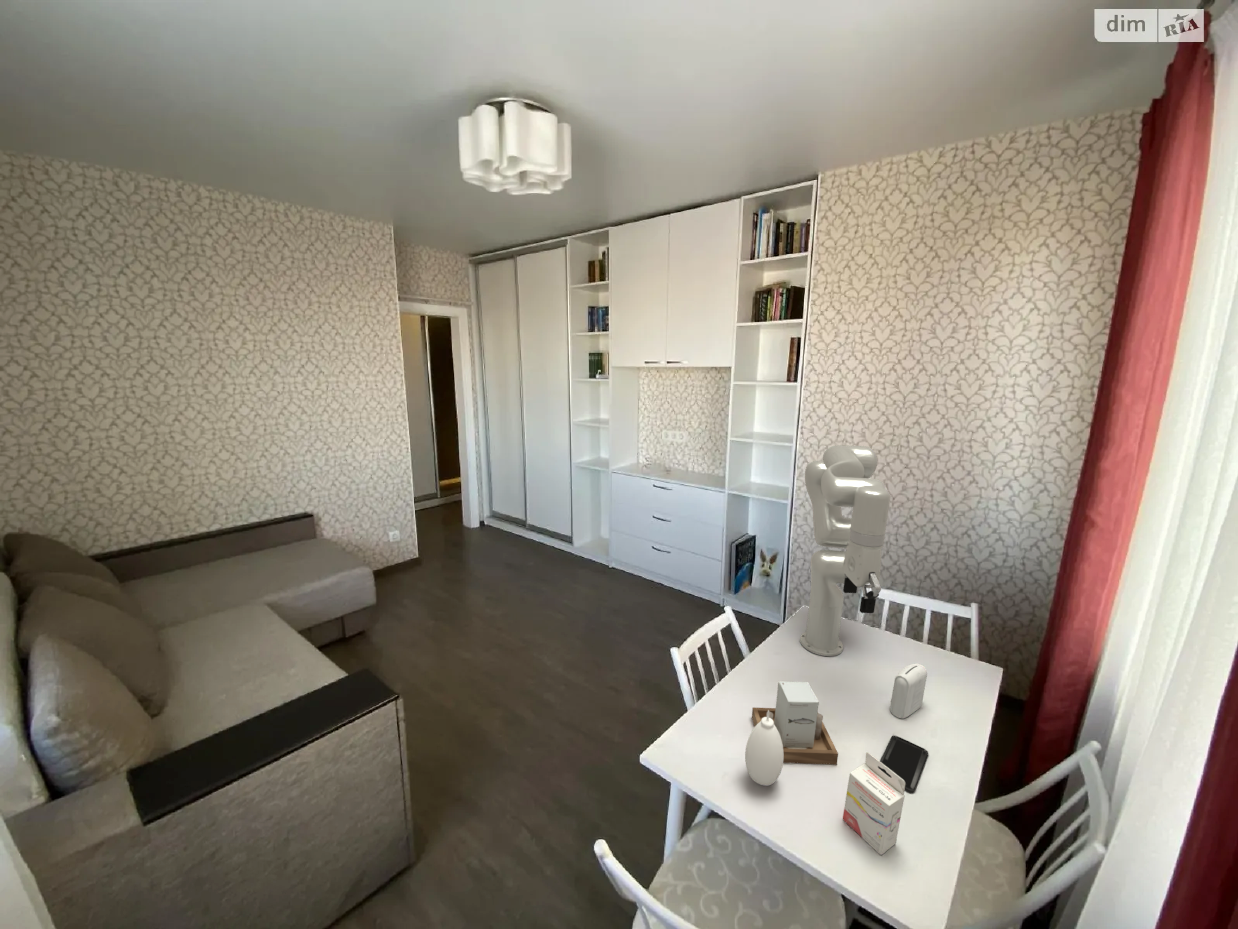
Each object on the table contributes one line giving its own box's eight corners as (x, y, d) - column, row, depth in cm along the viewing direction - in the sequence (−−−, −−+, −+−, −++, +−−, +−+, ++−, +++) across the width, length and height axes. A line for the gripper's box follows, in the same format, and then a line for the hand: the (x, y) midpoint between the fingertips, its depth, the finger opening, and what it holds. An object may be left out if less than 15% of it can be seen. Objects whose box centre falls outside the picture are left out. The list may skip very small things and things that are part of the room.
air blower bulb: (750, 760, 115) (756, 692, 110) (785, 776, 111) (792, 706, 106) (738, 784, 108) (743, 713, 104) (774, 803, 104) (782, 729, 100)
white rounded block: (907, 697, 136) (914, 656, 133) (924, 706, 133) (931, 665, 130) (886, 711, 130) (893, 670, 128) (903, 722, 127) (910, 679, 124)
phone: (929, 751, 117) (914, 792, 106) (928, 755, 117) (913, 797, 106) (892, 733, 122) (873, 771, 111) (891, 737, 122) (873, 775, 112)
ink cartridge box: (841, 820, 101) (849, 758, 97) (856, 809, 103) (865, 749, 100) (881, 857, 93) (892, 792, 90) (897, 844, 96) (908, 781, 92)
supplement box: (782, 748, 117) (786, 701, 114) (773, 724, 124) (777, 680, 121) (814, 749, 117) (819, 702, 114) (803, 725, 124) (808, 680, 121)
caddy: (751, 717, 128) (753, 693, 126) (815, 719, 127) (818, 695, 126) (765, 762, 114) (767, 736, 113) (836, 764, 114) (840, 738, 112)
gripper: (836, 524, 129) (829, 585, 133) (866, 551, 112) (857, 620, 116) (866, 525, 129) (858, 586, 133) (900, 552, 112) (890, 621, 116)
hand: (857, 602), depth 125 cm, fingers open, 9 cm apart
